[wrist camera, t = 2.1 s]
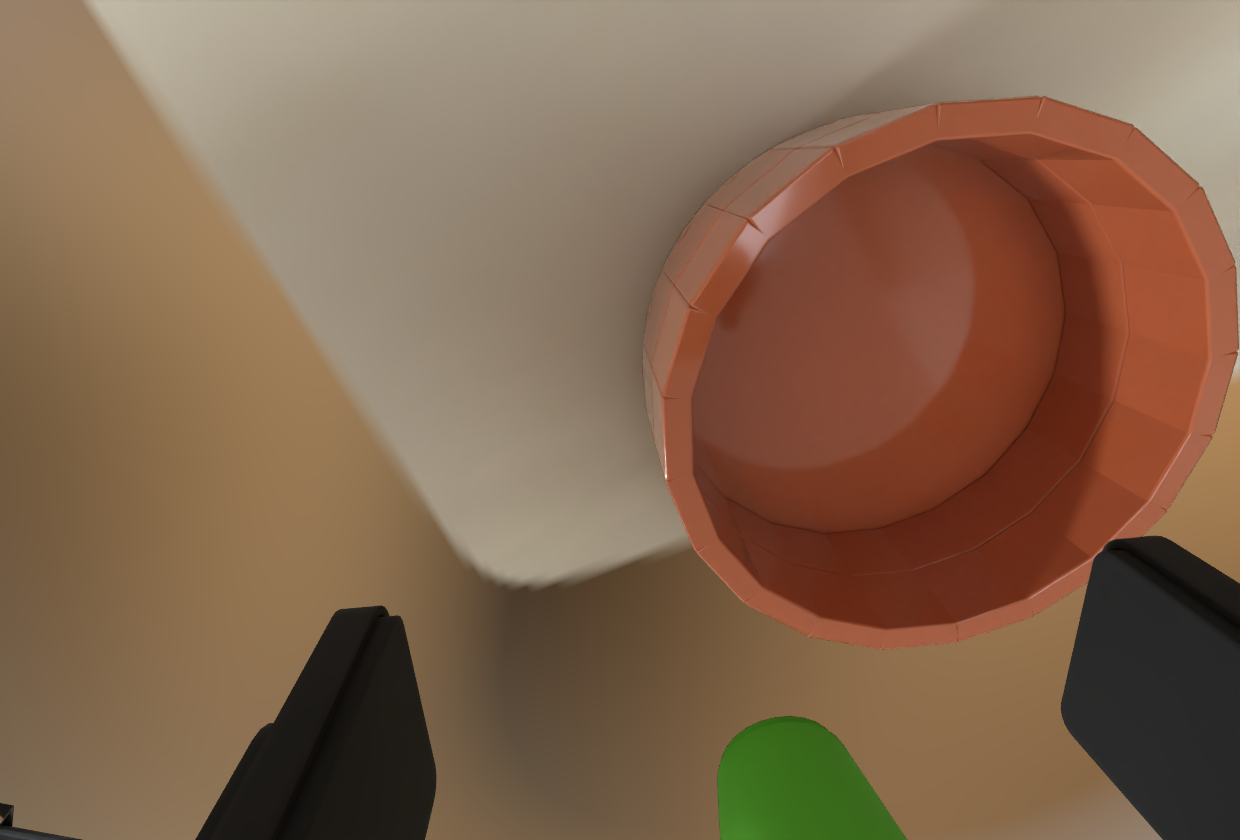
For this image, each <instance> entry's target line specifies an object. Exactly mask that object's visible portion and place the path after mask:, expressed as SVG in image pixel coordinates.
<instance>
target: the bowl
mask: <svg viewBox="0 0 1240 840" xmlns="http://www.w3.org/2000/svg"><path fill="white" fill-rule="evenodd" d="M1234 265H1235V260H1234V258H1233V256H1232V253H1231V251H1230V249H1229V247H1228V244H1227V242H1226V240H1225V237H1224V235H1223V233H1222V231H1221V228H1220V226H1219V224H1218V222H1217V219H1216V217H1215V215H1214V212H1213V210H1212V208H1211V206H1210V203H1209V201H1208V199H1207V196H1206V194H1205V192H1204V190H1203V188H1202V187H1200V186H1199V183H1198V182H1197V181H1195V180H1194V179H1193V178H1192V177H1191V176H1190V175H1189V174H1188V173H1187V172H1185V171H1184V170H1183V169H1182V168H1181V167H1180V166H1179V165H1178V164H1176V163H1175V162H1174V161H1173V160H1172V159H1171V158H1170V157H1169V156H1168V155H1166V154H1165V153H1164V152H1163V151H1162V150H1161V149H1160V148H1159V147H1158V146H1156V145H1155V144H1154V143H1153V142H1152V141H1151V140H1150V139H1149V138H1147V137H1146V136H1145V135H1144V134H1143V133H1142V132H1141V131H1140V130H1139V129H1137V128H1135V127H1134V125H1132V124H1129V123H1126V122H1123V121H1120V120H1117V119H1114V118H1111V117H1108V116H1104V115H1101V114H1098V113H1095V112H1092V111H1089V110H1086V109H1083V108H1079V107H1076V106H1073V105H1070V104H1067V103H1064V102H1061V101H1058V100H1054V99H1051V98H1048V97H1045V96H1044V97H1039V96H1029V97H1014V98H999V99H984V100H969V101H954V102H940V103H933V104H927V105H921V106H915V107H908V108H902V109H896V110H890V111H884V112H877V113H871V114H865V115H859V116H852V117H848V118H842V119H840V120H837V121H835V122H833V123H830V124H828V125H826V126H822V127H819V128H815V129H812V130H810V131H807V132H805V133H803V134H800V135H798V136H796V137H794V138H791V139H789V140H787V141H784V142H782V143H780V144H779V145H777V146H775V147H773V148H771V149H770V150H769V151H766V152H765V153H764V154H762V155H760V156H759V157H757V158H755V159H754V160H752V161H751V162H750V163H748V164H747V165H746V166H744V167H743V168H742V169H741V170H739V171H738V172H737V173H736V174H734V175H733V176H732V177H731V178H729V179H728V180H727V181H726V182H725V183H724V184H723V185H722V186H721V187H720V188H719V189H718V190H717V191H716V192H715V193H714V194H713V195H712V196H711V197H710V198H709V199H708V200H707V201H706V202H705V203H704V204H703V205H702V207H701V208H700V209H699V210H698V212H697V213H696V214H695V216H694V217H693V218H692V220H691V221H690V222H689V223H688V225H687V226H686V227H685V229H684V230H683V232H682V233H681V235H680V237H679V239H678V240H677V242H676V244H675V245H674V247H673V249H672V250H671V252H670V254H669V256H668V257H667V260H666V262H665V264H664V267H663V269H662V271H661V274H660V276H659V278H658V281H657V283H656V285H655V289H654V292H653V296H652V299H651V303H650V306H649V310H648V313H647V319H646V326H645V332H644V338H643V378H644V387H645V398H646V409H647V414H648V417H649V421H650V425H651V429H652V432H653V436H654V440H655V444H656V448H657V451H658V455H659V459H660V463H661V466H662V470H663V474H664V478H665V481H666V484H667V487H668V489H669V491H670V494H671V496H672V499H673V501H674V503H675V506H676V508H677V511H678V513H679V515H680V518H681V520H682V523H683V525H684V527H685V530H686V532H687V534H688V537H689V539H690V542H691V544H692V546H693V549H694V550H696V553H697V554H698V555H699V556H700V557H701V558H702V559H703V560H704V561H705V562H706V563H707V565H708V566H709V567H710V568H711V569H712V570H713V571H714V572H715V573H716V574H717V575H718V576H719V577H720V578H721V579H722V581H724V582H725V584H726V585H727V586H728V587H729V588H730V589H731V590H732V591H733V592H734V593H735V594H736V595H737V596H738V597H739V599H740V600H741V601H743V602H745V603H746V604H747V605H748V606H750V607H752V608H754V609H756V610H758V611H760V612H762V613H764V614H766V615H768V616H770V617H772V618H774V619H775V620H777V621H779V622H781V623H783V624H785V625H787V626H789V627H791V628H793V629H795V630H797V631H799V632H801V633H803V634H805V635H808V636H809V637H813V638H818V639H824V640H829V641H835V642H841V643H846V644H853V645H858V646H864V647H869V648H875V649H880V648H881V649H894V648H904V647H916V646H927V645H938V644H949V643H956V642H961V641H964V640H967V639H969V638H973V637H976V636H978V635H981V634H984V633H987V632H990V631H993V630H996V629H999V628H1002V627H1005V626H1008V625H1010V624H1013V623H1016V622H1019V621H1022V620H1025V619H1028V618H1031V617H1033V614H1034V615H1035V614H1038V613H1039V612H1041V611H1043V610H1044V609H1046V608H1047V607H1049V606H1051V605H1052V604H1054V603H1056V602H1057V601H1059V600H1060V599H1062V598H1064V597H1065V596H1067V595H1068V594H1070V593H1072V592H1073V591H1075V590H1077V589H1078V588H1080V587H1081V586H1083V585H1084V584H1086V583H1088V581H1089V577H1090V572H1091V568H1092V563H1093V560H1094V558H1095V556H1096V555H1097V554H1098V553H1100V552H1102V550H1103V548H1104V546H1105V545H1106V544H1107V543H1108V542H1109V541H1112V540H1115V539H1123V538H1134V537H1142V536H1143V535H1144V534H1145V533H1146V532H1147V531H1148V530H1149V529H1150V528H1151V527H1152V526H1153V525H1154V524H1155V523H1156V522H1157V521H1158V520H1159V519H1160V518H1161V517H1162V516H1163V515H1164V514H1165V513H1166V512H1167V510H1166V509H1168V508H1169V507H1170V505H1171V504H1172V502H1173V500H1174V499H1175V498H1176V496H1177V494H1178V493H1179V491H1180V489H1181V488H1182V486H1183V485H1184V483H1185V481H1186V480H1187V478H1188V477H1189V475H1190V473H1191V472H1192V470H1193V468H1194V467H1195V465H1196V464H1197V462H1198V460H1199V459H1200V457H1201V456H1202V454H1203V452H1204V451H1205V449H1206V447H1207V446H1208V444H1209V443H1210V441H1211V439H1212V436H1211V435H1212V434H1214V433H1215V430H1216V427H1217V424H1218V420H1219V417H1220V413H1221V409H1222V406H1223V403H1224V399H1225V396H1226V393H1227V389H1228V386H1229V383H1230V379H1231V376H1232V372H1233V369H1234V366H1235V362H1236V359H1237V355H1238V353H1237V352H1236V351H1237V350H1238V349H1239V338H1238V308H1237V277H1236V267H1235V266H1234Z"/></svg>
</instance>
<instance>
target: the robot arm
mask: <svg viewBox="0 0 1240 840" xmlns="http://www.w3.org/2000/svg"><path fill="white" fill-rule="evenodd" d="M1061 713H1062V717H1063V720H1064V723H1065V725H1066V727H1067V729H1068V730H1069V732H1070V733H1071V734H1072V736H1073V737H1074V738H1075V739H1076V740H1077V742H1078V743H1079V744H1080V745H1081V746H1082V748H1083V749H1084V750H1085V751H1086V752H1087V753H1088V754H1089V756H1090V757H1091V758H1092V759H1093V760H1094V761H1095V762H1096V764H1097V765H1098V766H1099V767H1100V768H1101V769H1102V770H1103V772H1104V773H1105V774H1106V775H1107V776H1108V777H1109V778H1110V780H1111V781H1112V782H1113V783H1114V784H1115V785H1116V786H1117V787H1118V789H1119V790H1120V791H1121V792H1122V793H1123V794H1124V796H1125V797H1126V798H1127V799H1128V800H1129V801H1130V803H1131V804H1132V805H1133V806H1134V807H1135V808H1136V809H1137V811H1138V812H1139V813H1140V814H1141V815H1142V816H1143V817H1144V819H1145V820H1146V821H1147V822H1148V823H1149V824H1150V825H1151V827H1152V828H1153V829H1154V830H1155V831H1156V832H1157V833H1158V835H1159V836H1160V837H1161V838H1162V839H1163V840H1240V584H1239V583H1238V582H1236V581H1235V580H1233V579H1231V578H1230V577H1228V576H1227V575H1225V574H1223V573H1222V572H1220V571H1219V570H1217V569H1216V568H1214V567H1212V566H1211V565H1209V564H1208V563H1206V562H1204V561H1203V560H1201V559H1200V558H1198V557H1196V556H1195V555H1193V554H1191V553H1190V552H1188V551H1187V550H1185V549H1184V548H1182V547H1180V546H1179V545H1177V544H1176V543H1174V542H1172V541H1171V540H1169V539H1167V538H1164V537H1162V536H1146V537H1134V538H1123V539H1115V540H1112V541H1109V542H1108V543H1107V544H1106V545H1105V546H1104V548H1103V550H1102V552H1100V553H1098V554H1097V555H1096V556H1095V558H1094V560H1093V563H1092V568H1091V572H1090V577H1089V581H1088V586H1087V590H1086V595H1085V599H1084V604H1083V608H1082V613H1081V617H1080V622H1079V626H1078V630H1077V635H1076V640H1075V644H1074V648H1073V653H1072V657H1071V662H1070V666H1069V671H1068V675H1067V680H1066V684H1065V689H1064V693H1063V698H1062V702H1061ZM435 791H436V768H435V762H434V758H433V754H432V749H431V744H430V740H429V735H428V731H427V726H426V722H425V717H424V713H423V709H422V704H421V700H420V695H419V690H418V686H417V682H416V677H415V673H414V668H413V664H412V659H411V655H410V650H409V646H408V641H407V637H406V632H405V628H404V624H403V621H402V619H401V617H400V616H389V613H388V611H387V610H386V608H385V607H383V606H373V607H362V608H349V609H340V610H338V611H336V612H335V614H334V615H333V617H332V618H331V620H330V622H329V624H328V625H327V627H326V629H325V631H324V633H323V635H322V636H321V638H320V640H319V642H318V644H317V645H316V647H315V649H314V651H313V653H312V655H311V656H310V658H309V660H308V662H307V664H306V665H305V667H304V669H303V671H302V673H301V675H300V676H299V678H298V680H297V682H296V684H295V685H294V687H293V689H292V691H291V693H290V695H289V696H288V698H287V700H286V702H285V703H284V705H283V707H282V709H281V711H280V713H279V715H278V716H277V718H276V720H275V722H274V723H269V724H267V725H266V726H264V727H263V728H262V729H260V731H259V732H258V733H257V735H256V736H255V737H254V739H253V740H252V742H251V743H250V745H249V747H248V749H247V750H246V752H245V754H244V756H243V758H242V759H241V761H240V763H239V764H238V766H237V768H236V770H235V771H234V773H233V775H232V777H231V778H230V780H229V782H228V784H227V785H226V787H225V789H224V791H223V793H222V794H221V796H220V798H219V799H218V801H217V803H216V805H215V806H214V808H213V810H212V812H211V813H210V815H209V817H208V819H207V820H206V822H205V824H204V826H203V827H202V829H201V831H200V832H199V834H198V836H197V838H196V840H425V837H426V833H427V829H428V824H429V820H430V815H431V811H432V807H433V802H434V798H435Z"/></svg>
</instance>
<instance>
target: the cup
mask: <svg viewBox="0 0 1240 840" xmlns="http://www.w3.org/2000/svg"><path fill="white" fill-rule="evenodd" d="M717 785H718V805H719V825H720V840H907V839H906V837H905V836H904V834H903V833H902V831H901V830H900V828H899V827H898V825H897V824H896V822H895V821H894V819H893V818H892V816H891V815H890V813H889V812H888V810H887V809H886V807H885V806H884V804H883V803H882V801H881V800H880V798H879V797H878V796H877V794H876V793H875V791H874V790H873V788H872V787H871V785H870V784H869V782H868V781H867V779H866V778H865V776H864V775H863V773H862V772H861V770H860V769H859V767H858V766H857V764H856V763H855V762H854V760H853V758H852V757H851V755H850V754H849V752H848V751H847V749H846V748H845V747H844V745H843V744H842V743H841V741H840V740H839V739H838V738H837V737H836V736H835V735H834V734H832V733H831V732H829V731H828V730H827V729H826V728H825V727H823V726H822V725H820V724H819V723H817V722H815V721H812V720H809V719H806V718H801V717H793V716H785V717H774V718H770V719H767V720H763V721H760V722H758V723H756V724H754V725H751V726H749V727H747V728H746V729H745V730H743V731H742V732H740V733H739V734H738V735H737V736H735V737H734V739H733V740H732V741H731V742H730V743H729V744H728V746H727V747H726V749H725V751H724V753H723V755H722V760H721V764H720V765H719V770H718V776H717Z"/></svg>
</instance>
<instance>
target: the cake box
mask: <svg viewBox="0 0 1240 840" xmlns="http://www.w3.org/2000/svg"><path fill="white" fill-rule="evenodd" d="M13 808H14V806H12V805H8V804H2V803H0V840H81V839H75V838H70V837H64V836H59V835H54V834H48V833H43V832H37V831H32V830H27V829H21V828H15V827H12V821H13V810H14V809H13Z"/></svg>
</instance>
